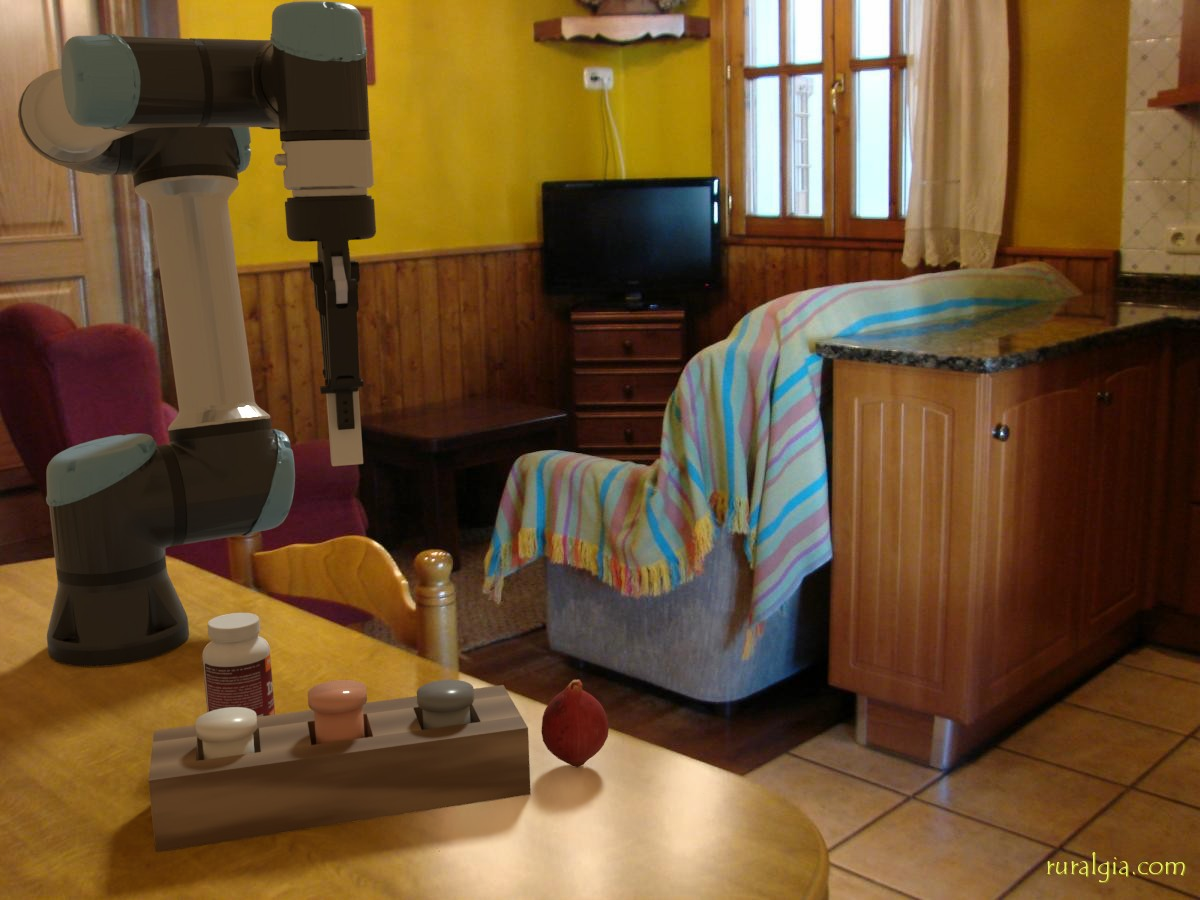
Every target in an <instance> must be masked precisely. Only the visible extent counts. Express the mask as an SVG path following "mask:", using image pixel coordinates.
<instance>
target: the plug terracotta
mask: <svg viewBox="0 0 1200 900" xmlns="http://www.w3.org/2000/svg"><path fill="white" fill-rule="evenodd" d="M367 694H368V693H367V686H366V684H365V683H363V682H361V681H358V680H352V679H337V680H329V681H325V682H321V683H318V684H316V685H314V686H312V687H311V688H310V689H308V691H307V704H308V708H309V710H313V711H314V720H315V733H316V744H323V743H330V742H338V741H345V740H352V739H359V738H365V734H364V719H363V705H364V704H365V703H367V701H368V695H367Z"/></svg>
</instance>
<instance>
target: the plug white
mask: <svg viewBox="0 0 1200 900" xmlns="http://www.w3.org/2000/svg"><path fill="white" fill-rule="evenodd" d="M195 725H196V734H197V737H198V738H199V739H200V740H202V742H203V753H204V760H207V759H214V758H221V757H228V756H236V755H243V754H250V753H255V751H254V740H253V733H254V732H255V731H256V729H257V715H256V713H255V711H253V710H251V709H248V708H243V707H229V708H221V709H217V710H213V711H210V712H207V711H206V713H203V714H201V715H200V716H198V717H197V718H196V720H195Z"/></svg>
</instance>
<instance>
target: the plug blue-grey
mask: <svg viewBox="0 0 1200 900" xmlns="http://www.w3.org/2000/svg"><path fill="white" fill-rule="evenodd" d="M474 689H475V688H474V686H473V685H472V684H471V683H470V682H467V681H465V680H464V681H463V680H459V679H441V680H439V679H438V680H435V681H431V682H428V683H425V684H423V685H422V686H421V685H420V687H419V688H417V690H416V696H417V704H418V706H419V707H420V708H421V709H423V727H424V730H425V729H432V728H440V727H447V726H454V725H461V724H469V723H470V705H471V704H472V703H473V702H474Z"/></svg>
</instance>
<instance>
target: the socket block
mask: <svg viewBox="0 0 1200 900" xmlns="http://www.w3.org/2000/svg"><path fill="white" fill-rule="evenodd" d="M473 689H474V702H473V703H472V704H471V705H470V723H469V724H461V725H454V726H447V727H440V728H432V729H425V730H424V727H423V709H421V708H420V707H419V706H418V704H417V695H415V696H407V697H400V698H399V697H398V698H392V699H386V700H385V699H383V700H377V701H369V702H366V703H365V704H364V705H363V719H364V734H365V738H359V739H352V740H345V741H338V742H330V743H323V744H316V733H315V720H314V711H313V710H311V709H308V710H300V711H294V712H292V711H291V712H284V713H278V714H276V713H275V715H268V716H261V717H257V729H256V731H255V732H254V733H253V740H254V751H255V753H250V754H243V755H236V756H228V757H221V758H214V759H207V760H204V753H203V742H202V740H200V739H199V738H198V737H197V734H196V724H192V725H187V726H185V725H184V726H177V727H172V728H171V727H170V728H162V729H154V730H153V736H152V737H153V738H152V745H151V754H150V762H149V763H150V764H149V772H148V779H147V780H148V781H147V782H148V790H149V791H148V792H149V799H150V800H149V801H150V809H151V817H152V818H151V820H152V827H153V829H152V830H153V840H154V848H155V853H158V852H164V851H165V852H166V851H172V850H179V849H185V848H191V847H197V846H198V847H199V846H204V845H210V844H218V843H225V842H231V841H237V840H243V839H249V838H258V837H263V836H271V835H276V834H282V833H288V832H296V831H302V830H303V831H304V830H309V829H314V828H321V827H328V826H334V825H341V824H347V823H354V822H361V821H367V820H373V819H380V818H385V817H387V818H388V817H394V816H399V815H405V814H411V813H419V812H426V811H431V810H437V809H438V810H439V809H446V808H452V807H458V806H459V807H460V806H466V805H470V804H471V805H472V804H477V803H484V802H492V801H496V800H503V799H511V798H517V797H523V796H529V795H531V794H532V793H531V792H532V791H531V789H532V788H531V769H530V768H531V767H530V744H529V743H530V741H529V727H528V724H527V723H526V722H525V720H524V718H523V717H522V715H521V713H520V711H519V709H518V707H517V706H516V704H515V703H514V701H513V699H512V698H511V695H510V694H509V692H508V691H507V689H506V687H505V685H504V684H501V685H500V684H499V685H492V686H484V687H476V688H473Z"/></svg>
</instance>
